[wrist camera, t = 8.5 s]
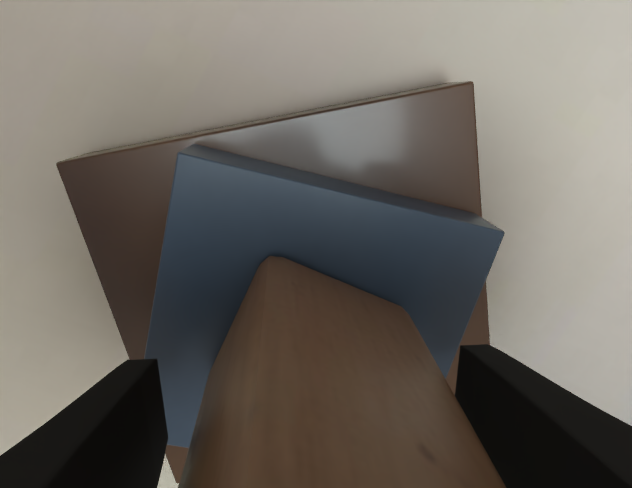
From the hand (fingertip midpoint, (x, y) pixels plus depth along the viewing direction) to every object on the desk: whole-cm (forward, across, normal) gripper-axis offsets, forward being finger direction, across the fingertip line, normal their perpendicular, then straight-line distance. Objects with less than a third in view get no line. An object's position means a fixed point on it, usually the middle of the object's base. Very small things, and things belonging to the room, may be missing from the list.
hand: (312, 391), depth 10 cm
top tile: (+4, 0, 0) cm, 4 cm away
